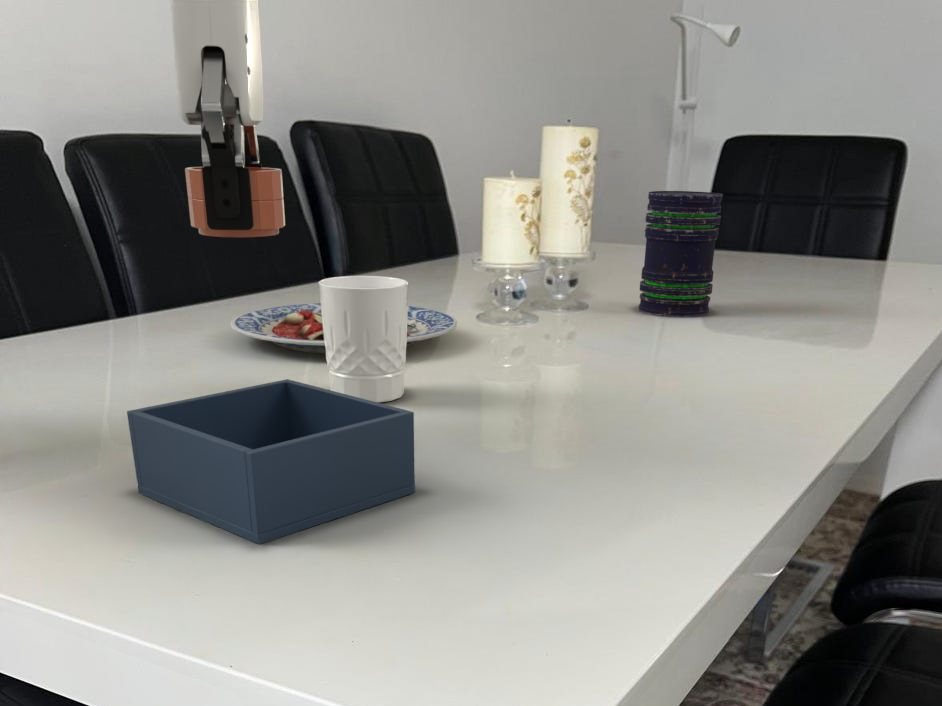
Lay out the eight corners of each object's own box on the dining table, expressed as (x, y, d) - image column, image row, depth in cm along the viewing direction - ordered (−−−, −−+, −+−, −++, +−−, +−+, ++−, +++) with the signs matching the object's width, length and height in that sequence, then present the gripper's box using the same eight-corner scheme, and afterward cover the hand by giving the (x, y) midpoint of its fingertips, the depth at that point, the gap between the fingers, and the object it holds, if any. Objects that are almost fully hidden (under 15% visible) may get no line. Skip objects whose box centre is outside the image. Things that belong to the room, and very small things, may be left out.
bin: (138, 493, 67) (126, 410, 65) (292, 452, 76) (287, 378, 73) (259, 544, 59) (250, 453, 57) (415, 492, 68) (414, 411, 66)
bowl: (174, 232, 74) (166, 167, 72) (247, 227, 79) (242, 166, 77) (230, 239, 71) (224, 171, 69) (303, 234, 75) (300, 169, 73)
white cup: (359, 381, 97) (355, 273, 93) (426, 392, 94) (425, 280, 89) (307, 397, 91) (299, 282, 87) (376, 410, 88) (373, 291, 83)
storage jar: (630, 305, 142) (639, 190, 135) (697, 305, 143) (710, 191, 136) (647, 317, 133) (658, 195, 126) (719, 317, 134) (733, 196, 127)
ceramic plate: (229, 366, 102) (226, 336, 100) (234, 322, 124) (232, 297, 123) (476, 360, 107) (476, 332, 105) (438, 318, 129) (438, 294, 128)
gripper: (180, -47, 74) (205, 214, 82) (125, -91, 58) (164, 235, 67) (282, -43, 74) (297, 215, 83) (255, -86, 59) (277, 237, 67)
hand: (237, 222), depth 74 cm, fingers closed on bowl, 6 cm apart
